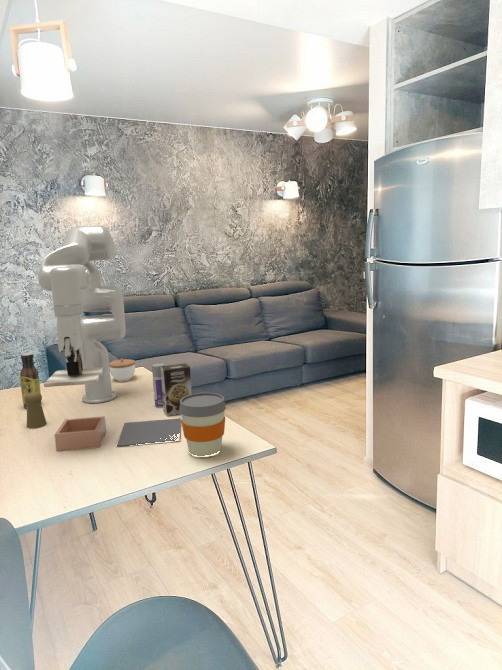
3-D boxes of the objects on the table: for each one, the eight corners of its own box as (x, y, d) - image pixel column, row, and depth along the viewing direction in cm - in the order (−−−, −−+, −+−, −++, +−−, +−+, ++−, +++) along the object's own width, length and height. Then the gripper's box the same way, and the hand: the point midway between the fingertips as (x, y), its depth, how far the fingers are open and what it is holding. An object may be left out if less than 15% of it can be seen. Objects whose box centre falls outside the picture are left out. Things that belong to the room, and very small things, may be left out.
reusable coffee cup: (228, 440, 142) (225, 391, 139) (227, 460, 130) (224, 406, 127) (185, 442, 142) (181, 393, 139) (179, 462, 129) (176, 408, 126)
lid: (57, 373, 148) (54, 351, 147) (104, 370, 150) (102, 348, 148) (44, 387, 135) (41, 362, 133) (96, 383, 136) (93, 359, 135)
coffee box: (166, 416, 163) (163, 370, 160) (163, 410, 169) (159, 365, 166) (193, 412, 166) (190, 366, 163) (188, 406, 172) (185, 362, 169)
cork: (39, 428, 157) (34, 396, 155) (22, 428, 158) (18, 395, 156) (50, 422, 163) (46, 390, 160) (34, 421, 164) (30, 389, 162)
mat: (124, 424, 158) (124, 422, 158) (180, 419, 160) (180, 418, 160) (117, 447, 140) (116, 445, 140) (180, 441, 143) (180, 440, 142)
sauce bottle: (19, 408, 178) (12, 354, 174) (34, 402, 183) (27, 351, 179) (31, 410, 175) (24, 356, 171) (46, 405, 180) (39, 352, 176)
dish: (66, 434, 151) (64, 419, 150) (106, 431, 152) (104, 416, 151) (56, 451, 139) (54, 434, 138) (99, 447, 141) (98, 430, 140)
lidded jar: (140, 376, 213) (138, 355, 212) (129, 383, 203) (127, 361, 201) (118, 375, 216) (116, 355, 214) (105, 382, 206) (103, 361, 204)
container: (170, 403, 176) (167, 363, 173) (164, 408, 172) (161, 366, 169) (159, 402, 178) (156, 362, 175) (152, 407, 173) (149, 366, 170)
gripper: (62, 307, 146) (68, 366, 150) (46, 315, 130) (54, 382, 133) (87, 306, 147) (94, 365, 150) (75, 314, 131) (82, 380, 134)
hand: (75, 372), depth 142 cm, fingers closed on lid, 3 cm apart
